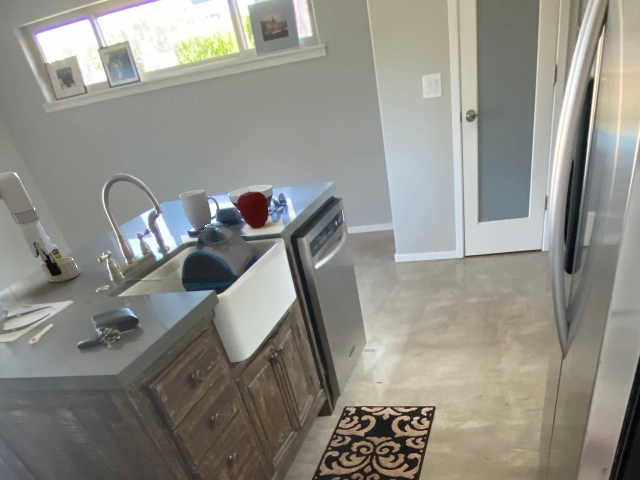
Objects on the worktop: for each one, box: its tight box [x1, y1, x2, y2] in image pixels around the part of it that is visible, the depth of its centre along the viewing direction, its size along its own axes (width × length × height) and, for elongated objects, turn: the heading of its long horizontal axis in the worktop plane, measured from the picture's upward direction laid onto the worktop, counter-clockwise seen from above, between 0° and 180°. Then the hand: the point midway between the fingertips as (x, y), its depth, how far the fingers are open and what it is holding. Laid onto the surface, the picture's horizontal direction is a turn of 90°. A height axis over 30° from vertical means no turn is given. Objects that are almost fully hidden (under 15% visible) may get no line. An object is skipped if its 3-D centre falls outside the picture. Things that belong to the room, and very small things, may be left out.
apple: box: [237, 191, 269, 229], centre depth 207 cm, size 12×12×13 cm
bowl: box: [227, 184, 274, 212], centre depth 226 cm, size 20×20×10 cm
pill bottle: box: [48, 236, 63, 259], centre depth 193 cm, size 6×6×12 cm
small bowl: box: [39, 256, 80, 284], centre depth 188 cm, size 11×11×6 cm
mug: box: [178, 189, 220, 230], centre depth 220 cm, size 15×11×13 cm
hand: (57, 274), depth 182 cm, fingers closed
